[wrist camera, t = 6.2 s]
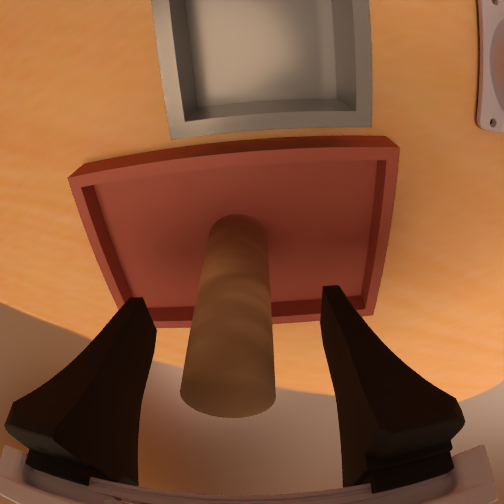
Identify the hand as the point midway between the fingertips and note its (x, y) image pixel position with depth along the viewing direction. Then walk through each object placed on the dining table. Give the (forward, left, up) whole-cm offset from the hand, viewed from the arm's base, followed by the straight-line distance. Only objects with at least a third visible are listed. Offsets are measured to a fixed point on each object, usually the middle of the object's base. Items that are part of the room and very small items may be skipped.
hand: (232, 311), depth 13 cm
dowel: (0, 0, -5) cm, 5 cm away
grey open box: (-2, -10, -6) cm, 12 cm away
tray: (0, 0, -6) cm, 6 cm away
